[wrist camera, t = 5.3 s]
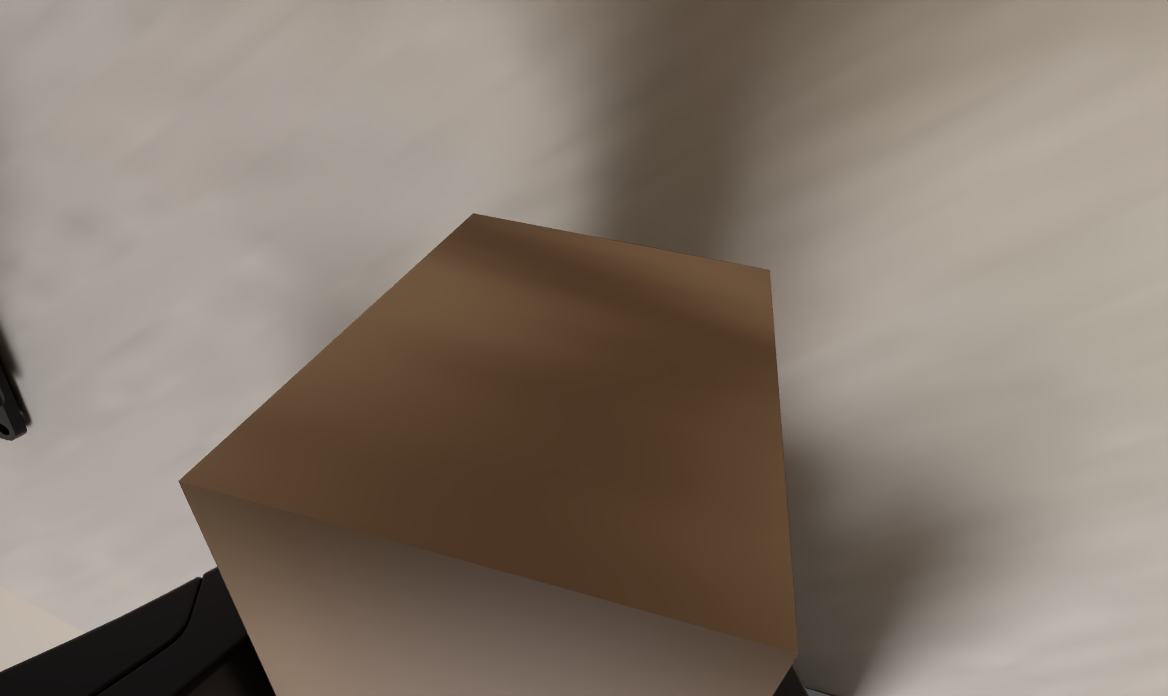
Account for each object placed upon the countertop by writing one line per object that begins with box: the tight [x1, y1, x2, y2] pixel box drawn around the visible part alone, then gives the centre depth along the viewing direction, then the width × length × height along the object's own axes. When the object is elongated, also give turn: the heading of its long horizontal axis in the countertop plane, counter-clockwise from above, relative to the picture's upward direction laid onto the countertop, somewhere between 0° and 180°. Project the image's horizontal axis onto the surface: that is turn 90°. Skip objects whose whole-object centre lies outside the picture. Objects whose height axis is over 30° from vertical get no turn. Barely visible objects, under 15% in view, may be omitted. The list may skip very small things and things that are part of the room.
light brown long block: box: [179, 213, 799, 696], centre depth 10 cm, size 4×14×5 cm, turn 173°
